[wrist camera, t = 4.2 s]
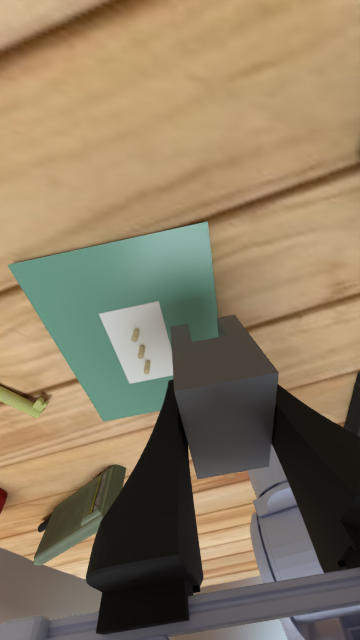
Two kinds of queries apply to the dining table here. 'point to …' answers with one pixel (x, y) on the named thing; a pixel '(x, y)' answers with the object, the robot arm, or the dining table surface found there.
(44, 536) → the handheld radio
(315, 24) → the dining table surface
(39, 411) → the key
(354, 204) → the dining table surface
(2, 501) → the plastic cup
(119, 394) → the board
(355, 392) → the disk drive
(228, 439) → the block
